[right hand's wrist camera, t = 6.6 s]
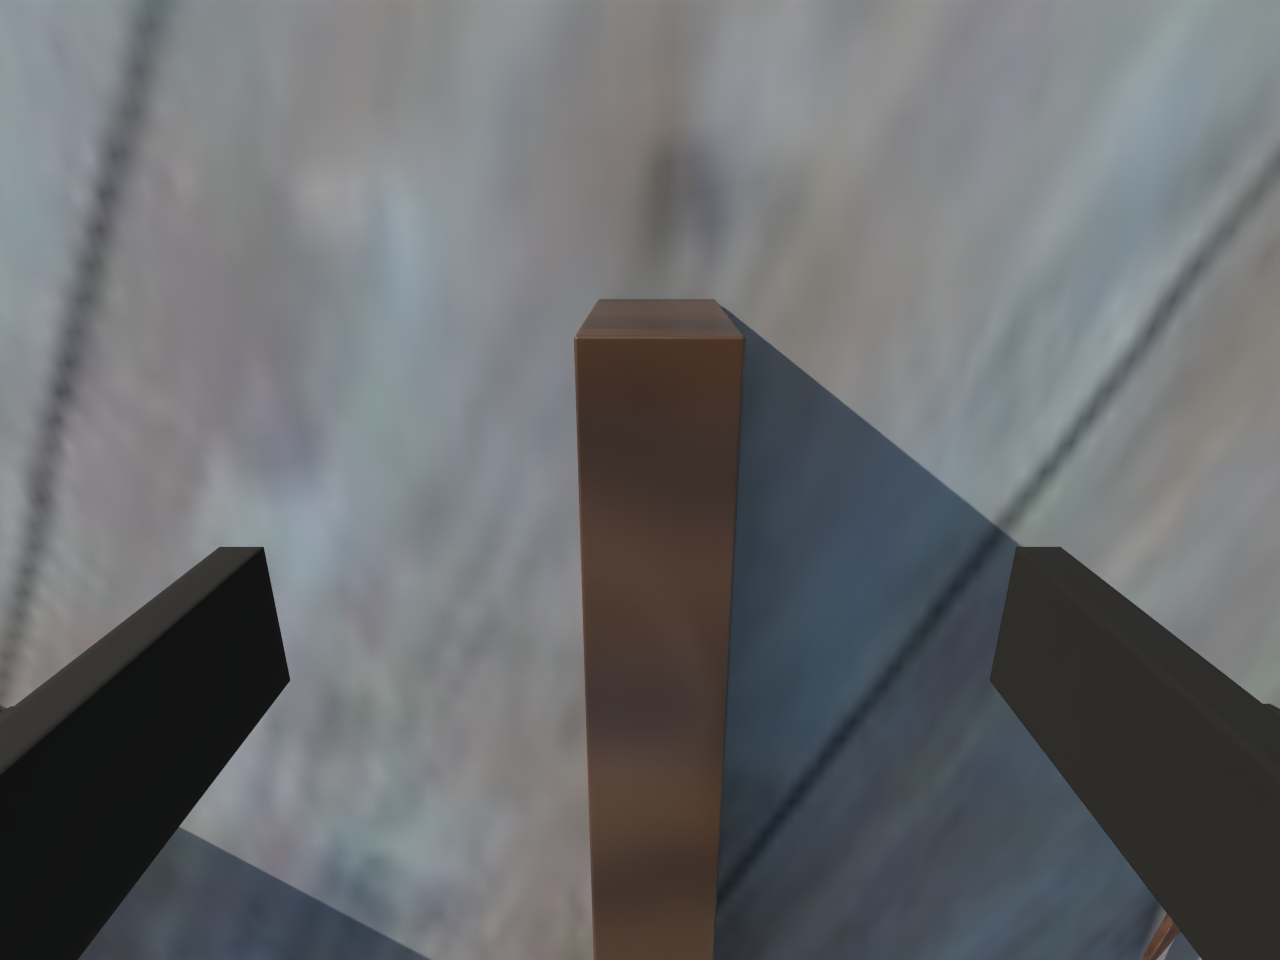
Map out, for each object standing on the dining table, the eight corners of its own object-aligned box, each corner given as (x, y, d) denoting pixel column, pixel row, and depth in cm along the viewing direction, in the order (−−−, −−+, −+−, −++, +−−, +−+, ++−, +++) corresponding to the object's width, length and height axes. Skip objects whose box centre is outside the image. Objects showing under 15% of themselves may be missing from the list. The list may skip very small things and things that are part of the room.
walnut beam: (597, 299, 24) (573, 335, 16) (715, 299, 24) (746, 336, 16) (614, 1139, 40) (606, 1353, 32) (685, 1141, 40) (694, 1355, 32)
